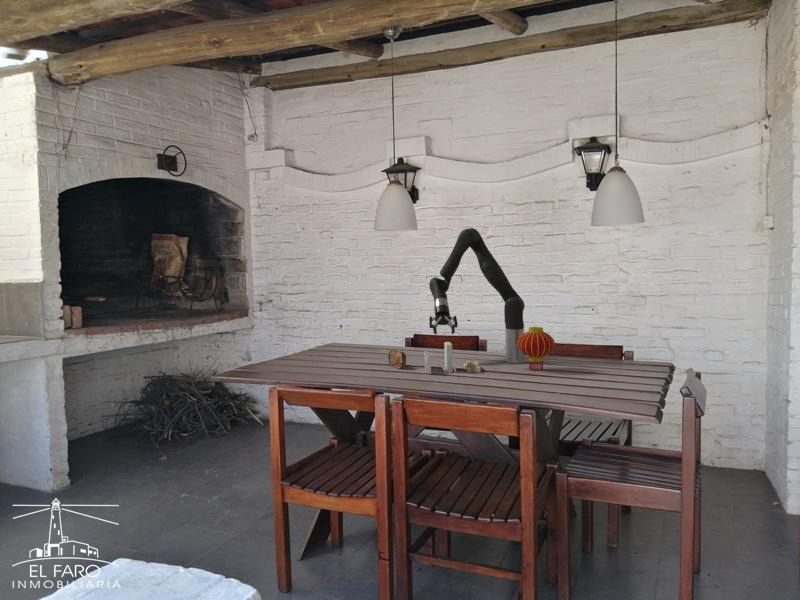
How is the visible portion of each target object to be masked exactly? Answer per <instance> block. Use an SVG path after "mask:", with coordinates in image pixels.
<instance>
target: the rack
mask: <svg viewBox="0 0 800 600" xmlns="http://www.w3.org/2000/svg"><path fill="white" fill-rule="evenodd" d="M423 352H424V353H423V354H424V360H423V361H424V362H423V363H424V370H425V369H426V370H425V371H427V372H426V374H427V373H428V374H427V375H432V358H431V355H430V353H429V351H426V350H425V351H423ZM440 366H441V367H440V368H442V369H441V370H442V372H443V371H444V372H446V373H447V371H446V369H445V364H441V365H440ZM453 371H454V372H453ZM444 372H443V373H444ZM452 372H453V373H457V368H456V367H455V366H454V364H452Z"/></svg>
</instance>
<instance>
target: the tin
mask: <svg viewBox="0 0 800 600" xmlns="http://www.w3.org/2000/svg"><path fill="white" fill-rule="evenodd" d="M387 357H388V363H389V366H390V365H394V366H397V367H400V368H399V369H404V368H406V365H407V355H406V353H405V352H404V351H401V350H397V349H390V350H389V353H388V356H387Z"/></svg>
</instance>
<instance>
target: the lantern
mask: <svg viewBox="0 0 800 600" xmlns="http://www.w3.org/2000/svg"><path fill="white" fill-rule="evenodd" d="M517 345H518V348H519V350H520V351H521V352H522V353H523V354H524V355H525V357H528V359H529V361H528V366H529V367H528V370H529V371H532V370H534V371H535V372H539V371H540V372H541V371H543V370H544V364H543V363H544V360H543V359H544V357H547V356H548V355H549V354H552V352H553V351H554V349H555V347H556V346H555V345H556V342H555V340H554V338H553V336H552V335H550V334H549V333H547V332H545V331H544V327H539V326H532V327H531V326H530V327H528V331H527V332H524V334H523V335H521V336H520V338H519V339H518V342H517Z"/></svg>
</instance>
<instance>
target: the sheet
mask: <svg viewBox="0 0 800 600" xmlns="http://www.w3.org/2000/svg"><path fill="white" fill-rule="evenodd" d="M443 345H444V367H445V369H446V373H453V370H452V365H453V343H452V342H450V341H444V344H443Z"/></svg>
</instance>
